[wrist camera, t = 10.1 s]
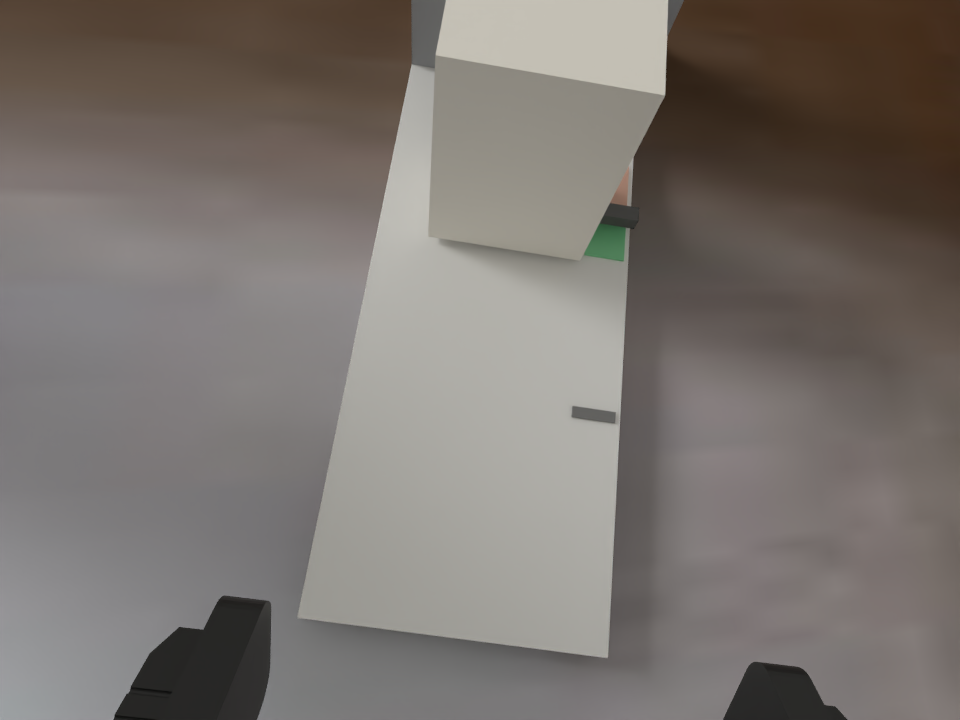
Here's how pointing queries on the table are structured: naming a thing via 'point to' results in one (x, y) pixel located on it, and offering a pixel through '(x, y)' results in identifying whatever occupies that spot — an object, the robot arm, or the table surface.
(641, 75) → the block
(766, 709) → the robot arm
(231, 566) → the table surface
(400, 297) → the base
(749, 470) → the table surface
